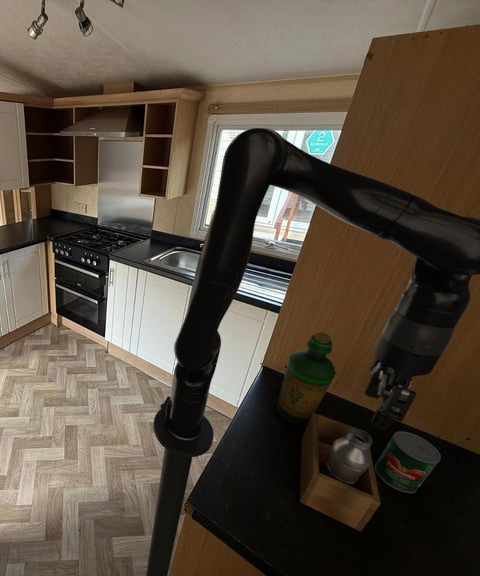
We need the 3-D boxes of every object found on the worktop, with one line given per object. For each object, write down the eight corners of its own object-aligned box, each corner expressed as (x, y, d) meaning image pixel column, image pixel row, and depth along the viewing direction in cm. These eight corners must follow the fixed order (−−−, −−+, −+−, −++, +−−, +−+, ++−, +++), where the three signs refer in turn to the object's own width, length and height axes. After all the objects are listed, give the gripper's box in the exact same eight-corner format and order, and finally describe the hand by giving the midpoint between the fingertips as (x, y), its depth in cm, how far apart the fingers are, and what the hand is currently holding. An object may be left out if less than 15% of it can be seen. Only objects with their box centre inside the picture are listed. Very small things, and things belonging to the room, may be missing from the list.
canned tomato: (379, 484, 73) (399, 453, 68) (370, 456, 80) (388, 426, 75) (423, 499, 70) (448, 468, 65) (410, 469, 76) (432, 438, 72)
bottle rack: (299, 502, 70) (313, 474, 65) (301, 439, 84) (312, 412, 80) (361, 532, 64) (380, 503, 60) (351, 459, 79) (367, 431, 74)
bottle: (278, 427, 88) (309, 346, 75) (267, 398, 97) (292, 322, 85) (320, 433, 86) (358, 351, 73) (304, 403, 95) (335, 326, 83)
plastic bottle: (320, 509, 68) (354, 448, 59) (306, 479, 74) (334, 420, 65) (352, 514, 67) (391, 453, 59) (335, 483, 73) (368, 423, 65)
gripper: (376, 315, 59) (346, 380, 66) (391, 355, 48) (353, 428, 55) (430, 326, 55) (392, 394, 63) (459, 372, 45) (409, 448, 52)
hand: (374, 410), depth 59 cm, fingers open, 8 cm apart
